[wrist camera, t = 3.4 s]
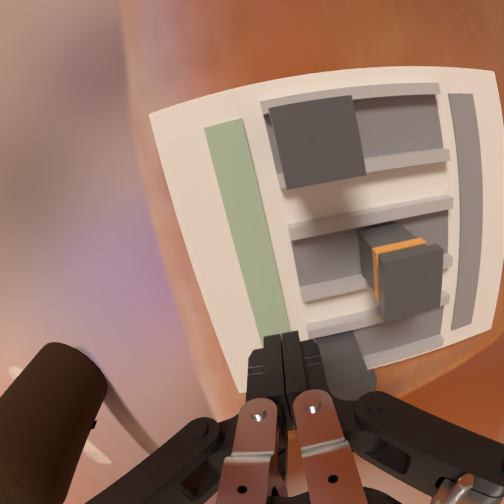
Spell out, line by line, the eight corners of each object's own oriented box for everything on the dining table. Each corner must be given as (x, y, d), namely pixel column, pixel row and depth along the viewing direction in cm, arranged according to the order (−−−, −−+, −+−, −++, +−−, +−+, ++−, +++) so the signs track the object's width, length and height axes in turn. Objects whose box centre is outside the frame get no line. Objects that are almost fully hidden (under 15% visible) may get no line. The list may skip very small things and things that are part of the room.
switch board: (479, 73, 16) (547, 66, 9) (481, 318, 25) (522, 366, 17) (158, 115, 19) (102, 109, 12) (240, 378, 28) (233, 448, 20)
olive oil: (25, 344, 29) (-76, 488, 6) (74, 328, 27) (-49, 525, 4) (73, 404, 32) (5, 549, 9) (129, 399, 31) (62, 586, 7)
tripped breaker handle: (401, 217, 19) (443, 249, 14) (403, 264, 20) (439, 306, 15) (352, 227, 19) (383, 263, 14) (357, 275, 21) (384, 322, 15)
